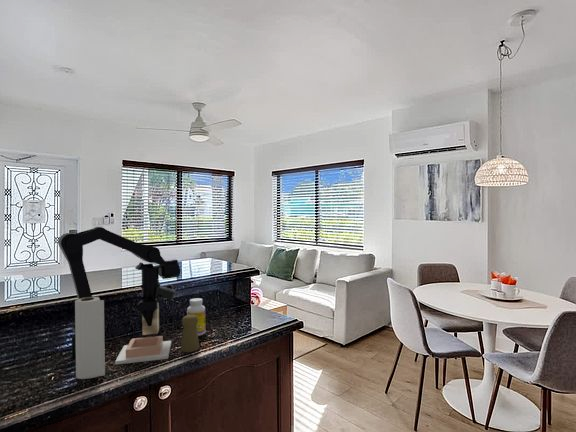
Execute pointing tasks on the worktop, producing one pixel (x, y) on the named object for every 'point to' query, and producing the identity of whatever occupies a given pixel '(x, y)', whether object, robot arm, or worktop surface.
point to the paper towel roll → (89, 337)
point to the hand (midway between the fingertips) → (150, 323)
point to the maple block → (155, 324)
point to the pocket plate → (144, 350)
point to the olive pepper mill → (190, 334)
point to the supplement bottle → (198, 314)
